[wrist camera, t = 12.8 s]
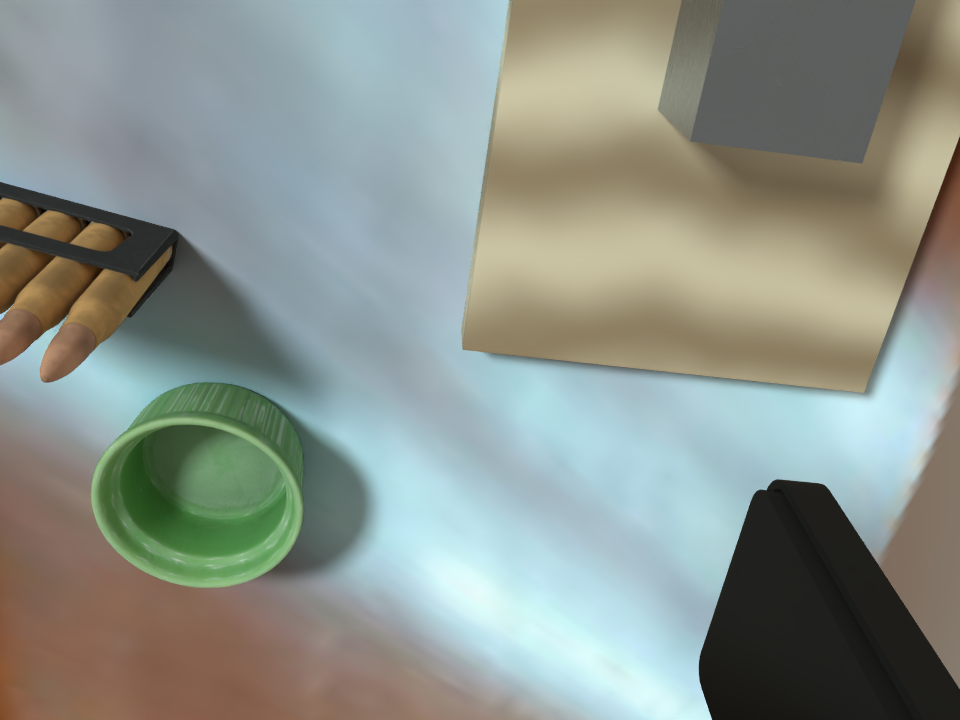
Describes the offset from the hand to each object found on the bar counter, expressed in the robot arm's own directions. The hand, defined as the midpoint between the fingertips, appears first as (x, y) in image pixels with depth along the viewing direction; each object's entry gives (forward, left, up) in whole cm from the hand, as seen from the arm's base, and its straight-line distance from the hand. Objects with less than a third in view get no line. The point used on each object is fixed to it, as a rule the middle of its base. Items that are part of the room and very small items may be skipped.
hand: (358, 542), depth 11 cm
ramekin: (-19, -4, -29) cm, 35 cm away
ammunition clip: (-14, +8, -29) cm, 33 cm away
